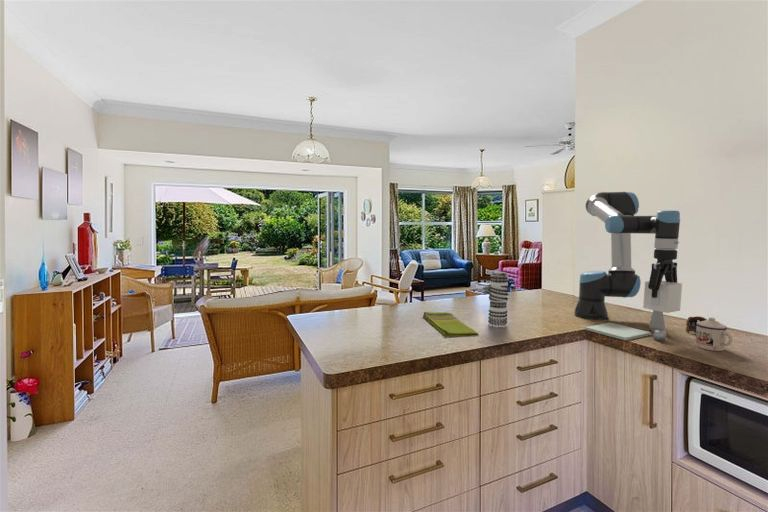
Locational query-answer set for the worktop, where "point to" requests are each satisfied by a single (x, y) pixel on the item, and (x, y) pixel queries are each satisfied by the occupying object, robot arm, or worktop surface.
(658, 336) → the cylinder
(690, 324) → the pottery mug
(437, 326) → the dish towel
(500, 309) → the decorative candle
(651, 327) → the salt shaker
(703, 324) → the teacup with lid
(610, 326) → the board
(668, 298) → the white block
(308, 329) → the worktop surface
